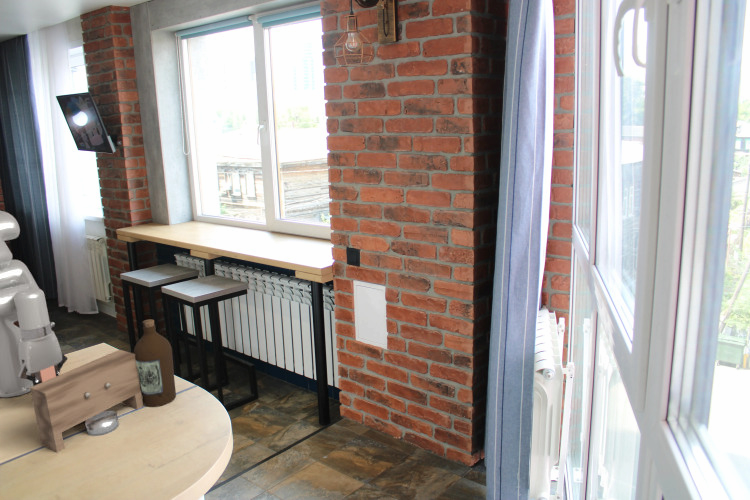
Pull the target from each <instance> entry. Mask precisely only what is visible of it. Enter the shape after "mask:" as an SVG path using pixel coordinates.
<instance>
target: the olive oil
mask: <svg viewBox="0 0 750 500" xmlns="http://www.w3.org/2000/svg"><path fill="white" fill-rule="evenodd" d="M142 325H143V326H142V330H143V334H142V336H141V338H140V339H139V340H138V341H137V342H136V344H135V346H134V349H133V352H132V353H133V354H135V359H136V364H137V370H138V376H139V383H140V389H141V395H142V402H143V406H146V407H150V408H151V407H152V408H154V407H156V408H157V407H162V406H164V405H168V404H170V403H171V402H173V401H174V400H175V399H176V396H177V392H176V381H175V372H174V359H173V348H172V346H171V343H170V341H169V340H168V339H167V338H166V337H164V336H163V335H161V334H159V333H158V332H157V331H156V329H157V328H156V324H155V320H154V319H145V320H143V321H142Z"/></svg>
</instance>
